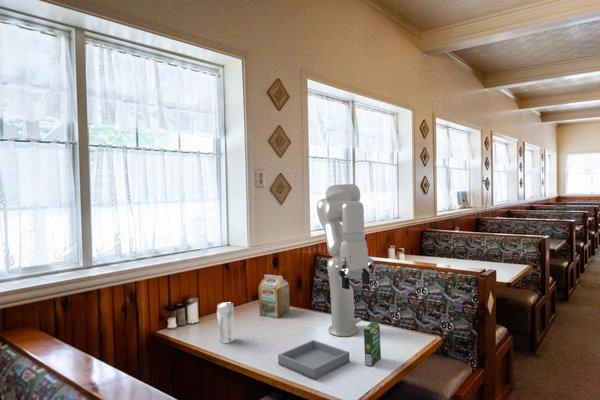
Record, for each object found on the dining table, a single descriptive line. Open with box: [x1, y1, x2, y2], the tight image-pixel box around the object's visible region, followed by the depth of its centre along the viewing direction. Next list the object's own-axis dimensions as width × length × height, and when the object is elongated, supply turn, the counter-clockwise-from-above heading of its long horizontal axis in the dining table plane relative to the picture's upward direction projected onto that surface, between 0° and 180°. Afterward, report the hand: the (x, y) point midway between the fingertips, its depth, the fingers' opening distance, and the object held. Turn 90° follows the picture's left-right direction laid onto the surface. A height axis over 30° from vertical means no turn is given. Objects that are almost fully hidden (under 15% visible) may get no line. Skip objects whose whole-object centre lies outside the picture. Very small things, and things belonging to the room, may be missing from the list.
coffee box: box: [363, 320, 382, 367], centre depth 143 cm, size 8×3×13 cm, turn 146°
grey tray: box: [277, 339, 351, 381], centre depth 144 cm, size 18×18×4 cm
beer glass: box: [216, 301, 236, 344], centre depth 169 cm, size 7×7×15 cm
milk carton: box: [258, 274, 291, 319], centre depth 201 cm, size 11×11×19 cm
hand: (356, 286), depth 144 cm, fingers open, 9 cm apart
